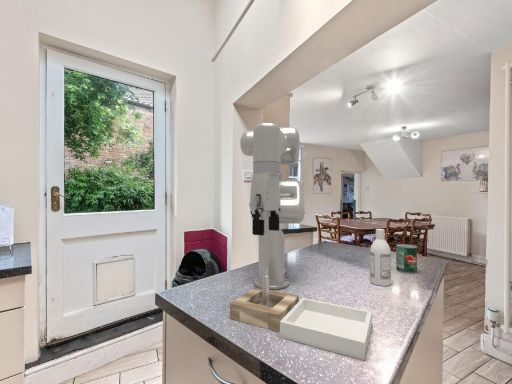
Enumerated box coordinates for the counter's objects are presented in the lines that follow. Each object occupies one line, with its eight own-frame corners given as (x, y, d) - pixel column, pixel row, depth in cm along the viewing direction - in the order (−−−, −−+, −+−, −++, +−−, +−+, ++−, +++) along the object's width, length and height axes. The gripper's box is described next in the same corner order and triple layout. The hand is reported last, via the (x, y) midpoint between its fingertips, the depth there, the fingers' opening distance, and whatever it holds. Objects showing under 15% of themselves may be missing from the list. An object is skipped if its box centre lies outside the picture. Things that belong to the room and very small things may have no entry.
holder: (255, 300, 81) (255, 287, 81) (298, 309, 74) (298, 295, 74) (229, 318, 69) (229, 303, 69) (279, 332, 62) (279, 314, 62)
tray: (302, 310, 74) (302, 297, 74) (371, 325, 65) (371, 311, 65) (279, 337, 60) (279, 321, 60) (364, 361, 51) (364, 342, 51)
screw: (275, 317, 69) (257, 318, 69) (273, 309, 74) (256, 310, 74) (275, 268, 69) (257, 268, 69) (273, 263, 74) (256, 263, 74)
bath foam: (393, 283, 97) (393, 229, 97) (387, 288, 92) (387, 230, 92) (373, 279, 102) (373, 227, 102) (367, 283, 97) (367, 229, 97)
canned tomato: (399, 267, 118) (399, 243, 119) (419, 271, 113) (419, 245, 113) (393, 271, 113) (393, 245, 113) (414, 275, 107) (414, 248, 107)
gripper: (267, 172, 81) (267, 228, 81) (238, 167, 66) (238, 236, 66) (290, 171, 78) (290, 229, 77) (265, 166, 62) (265, 238, 62)
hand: (266, 232), depth 72 cm, fingers open, 9 cm apart
